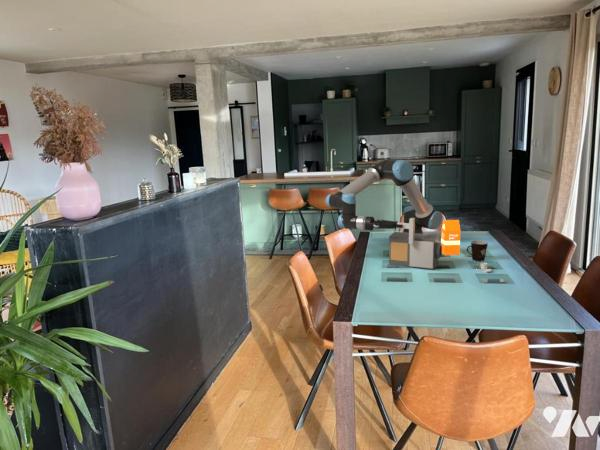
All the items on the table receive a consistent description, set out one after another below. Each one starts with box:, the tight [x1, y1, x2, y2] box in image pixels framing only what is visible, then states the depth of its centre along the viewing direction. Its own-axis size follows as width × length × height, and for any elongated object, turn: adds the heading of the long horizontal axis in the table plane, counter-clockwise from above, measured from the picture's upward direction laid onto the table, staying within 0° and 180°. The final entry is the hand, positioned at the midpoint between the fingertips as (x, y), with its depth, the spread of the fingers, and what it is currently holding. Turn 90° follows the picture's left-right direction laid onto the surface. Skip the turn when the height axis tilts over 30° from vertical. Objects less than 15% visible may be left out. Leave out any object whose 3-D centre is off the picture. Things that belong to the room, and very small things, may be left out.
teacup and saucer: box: [475, 261, 493, 273], centre depth 234 cm, size 9×8×4 cm
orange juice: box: [440, 219, 462, 256], centre depth 265 cm, size 8×9×20 cm
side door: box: [409, 218, 434, 270], centre depth 235 cm, size 4×12×26 cm, turn 64°
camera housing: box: [388, 231, 443, 271], centre depth 246 cm, size 12×26×17 cm, turn 64°
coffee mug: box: [466, 240, 489, 262], centre depth 251 cm, size 12×9×10 cm
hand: (409, 226), depth 236 cm, fingers closed
